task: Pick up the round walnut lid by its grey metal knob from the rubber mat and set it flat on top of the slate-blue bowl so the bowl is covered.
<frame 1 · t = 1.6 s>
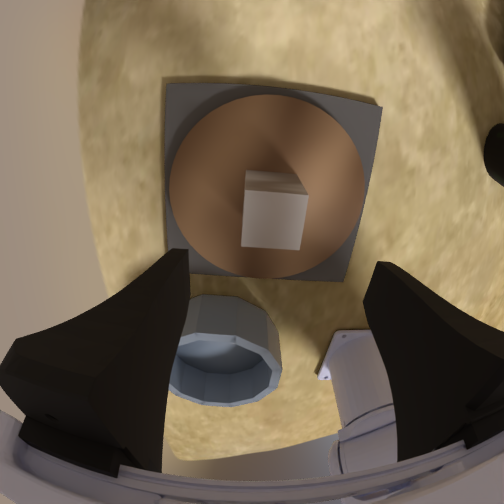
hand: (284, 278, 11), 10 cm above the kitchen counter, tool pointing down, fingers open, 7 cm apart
mat: (267, 189, 20), on the kitchen counter
lid: (268, 191, 19), point 1 cm above the kitchen counter, touching mat
bowl: (219, 339, 27), on the kitchen counter
cup: (500, 152, 17), on the kitchen counter
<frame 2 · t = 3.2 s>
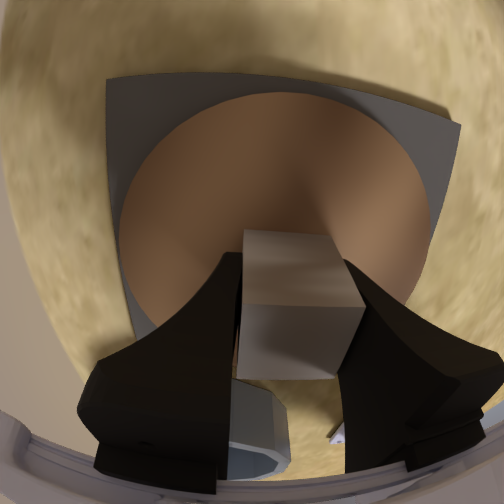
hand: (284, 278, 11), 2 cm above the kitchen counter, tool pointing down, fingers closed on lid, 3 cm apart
mat: (279, 251, 12), on the kitchen counter
lid: (280, 258, 12), point 1 cm above the kitchen counter, touching gripper, mat
bowl: (212, 415, 20), on the kitchen counter
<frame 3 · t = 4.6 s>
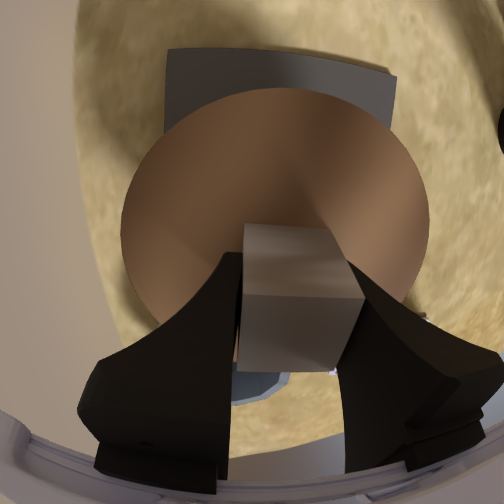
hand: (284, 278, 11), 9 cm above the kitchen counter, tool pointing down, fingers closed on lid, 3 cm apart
mat: (277, 161, 18), on the kitchen counter
lid: (280, 252, 12), point 8 cm above the kitchen counter, touching gripper
bowl: (223, 331, 25), on the kitchen counter
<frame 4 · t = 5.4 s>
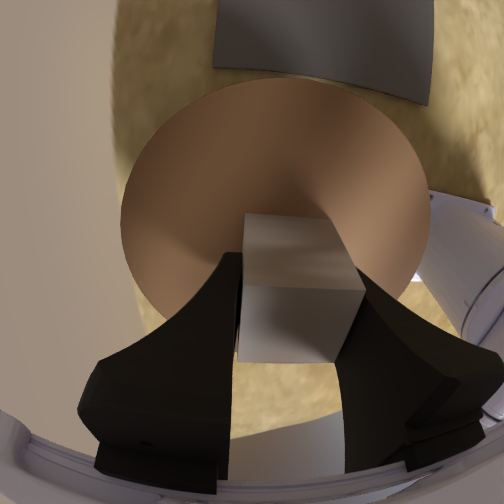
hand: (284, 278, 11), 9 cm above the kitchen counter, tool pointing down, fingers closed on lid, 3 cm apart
lid: (281, 242, 12), point 8 cm above the kitchen counter, touching gripper
when the fingers open (7 cm above the kitchen counter, at t = 6.0 s): lid drops 1 cm, resting on bowl.
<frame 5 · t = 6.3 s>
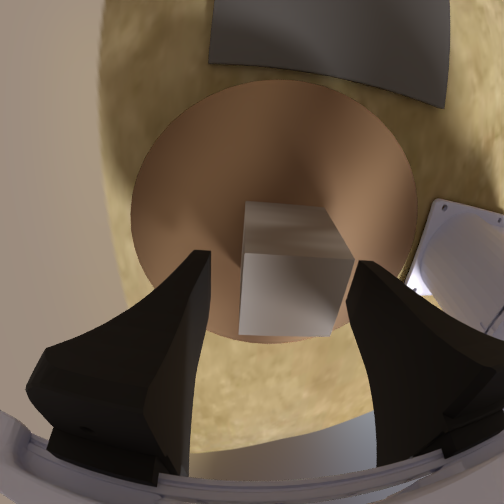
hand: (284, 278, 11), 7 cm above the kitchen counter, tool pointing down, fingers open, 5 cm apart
lid: (279, 230, 13), point 4 cm above the kitchen counter, touching bowl
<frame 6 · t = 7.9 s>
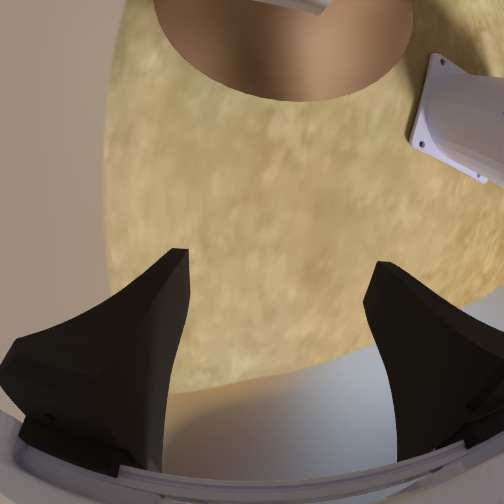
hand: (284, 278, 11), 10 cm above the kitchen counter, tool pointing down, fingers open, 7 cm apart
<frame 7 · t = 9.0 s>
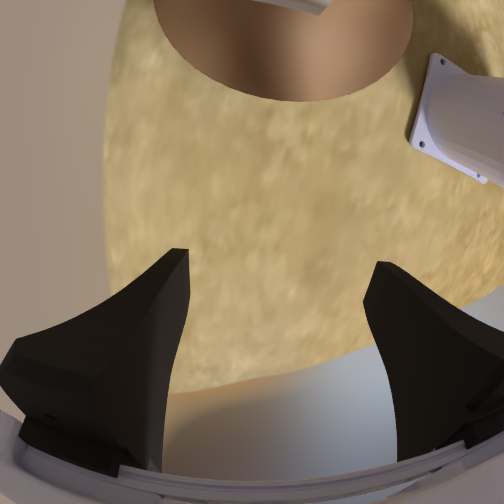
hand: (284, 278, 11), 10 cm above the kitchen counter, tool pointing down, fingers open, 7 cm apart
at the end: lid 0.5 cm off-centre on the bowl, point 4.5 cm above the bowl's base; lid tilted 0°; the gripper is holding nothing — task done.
